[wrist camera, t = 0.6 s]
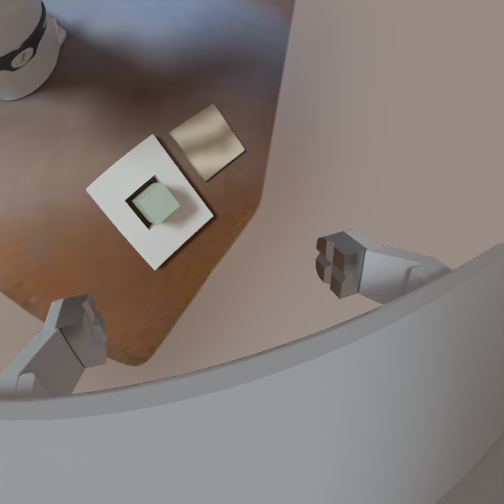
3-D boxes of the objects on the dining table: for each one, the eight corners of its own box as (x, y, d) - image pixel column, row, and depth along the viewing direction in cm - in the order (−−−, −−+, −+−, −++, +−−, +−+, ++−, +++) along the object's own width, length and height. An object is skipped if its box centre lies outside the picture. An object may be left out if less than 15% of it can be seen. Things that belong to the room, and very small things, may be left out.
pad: (169, 132, 45) (170, 132, 44) (211, 104, 48) (213, 103, 47) (204, 181, 50) (205, 181, 50) (242, 150, 53) (244, 150, 52)
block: (131, 200, 44) (138, 202, 38) (151, 183, 45) (162, 181, 39) (147, 220, 46) (157, 225, 40) (167, 203, 48) (180, 205, 41)
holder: (86, 189, 40) (85, 189, 38) (150, 136, 43) (152, 133, 42) (152, 267, 48) (154, 270, 47) (209, 214, 52) (213, 215, 50)
